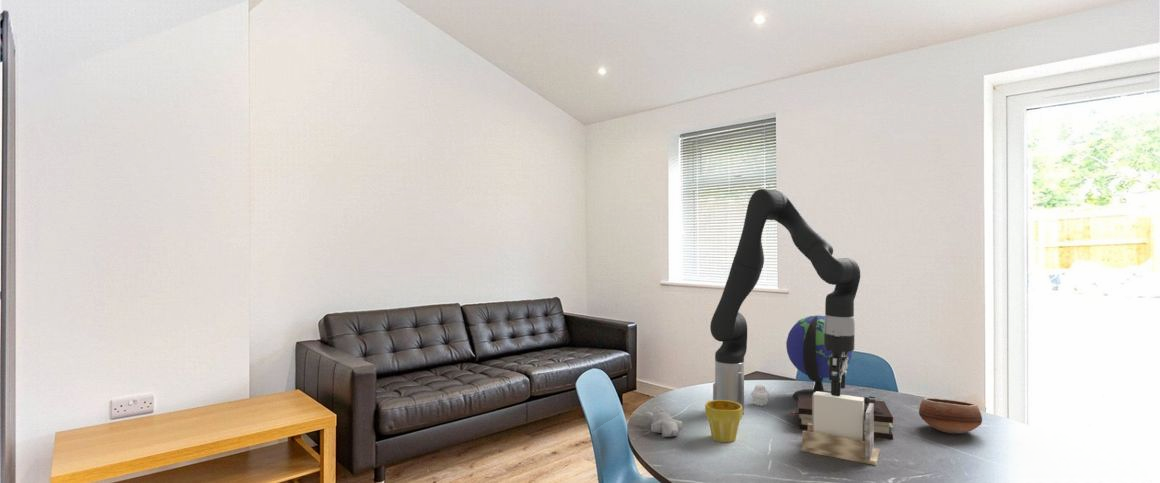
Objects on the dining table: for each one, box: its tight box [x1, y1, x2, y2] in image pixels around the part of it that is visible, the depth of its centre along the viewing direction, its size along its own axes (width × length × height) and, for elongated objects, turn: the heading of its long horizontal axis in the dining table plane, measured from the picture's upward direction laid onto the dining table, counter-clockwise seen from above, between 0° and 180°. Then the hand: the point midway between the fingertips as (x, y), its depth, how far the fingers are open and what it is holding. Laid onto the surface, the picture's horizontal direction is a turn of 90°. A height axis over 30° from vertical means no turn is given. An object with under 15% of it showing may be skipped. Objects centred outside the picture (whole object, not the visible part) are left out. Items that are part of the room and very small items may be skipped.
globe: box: [785, 314, 853, 402], centre depth 202 cm, size 22×22×30 cm
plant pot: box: [704, 399, 743, 443], centre depth 163 cm, size 10×10×10 cm
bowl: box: [918, 397, 983, 434], centre depth 167 cm, size 16×16×10 cm
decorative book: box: [790, 394, 896, 440], centre depth 174 cm, size 19×8×30 cm
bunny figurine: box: [643, 409, 683, 438], centre depth 170 cm, size 10×5×15 cm
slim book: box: [812, 391, 864, 441], centre depth 153 cm, size 12×4×14 cm, turn 57°
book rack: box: [801, 403, 881, 466], centre depth 152 cm, size 18×10×13 cm, turn 57°
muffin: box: [750, 384, 771, 407], centre depth 195 cm, size 6×6×7 cm
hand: (838, 391), depth 152 cm, fingers open, 8 cm apart
